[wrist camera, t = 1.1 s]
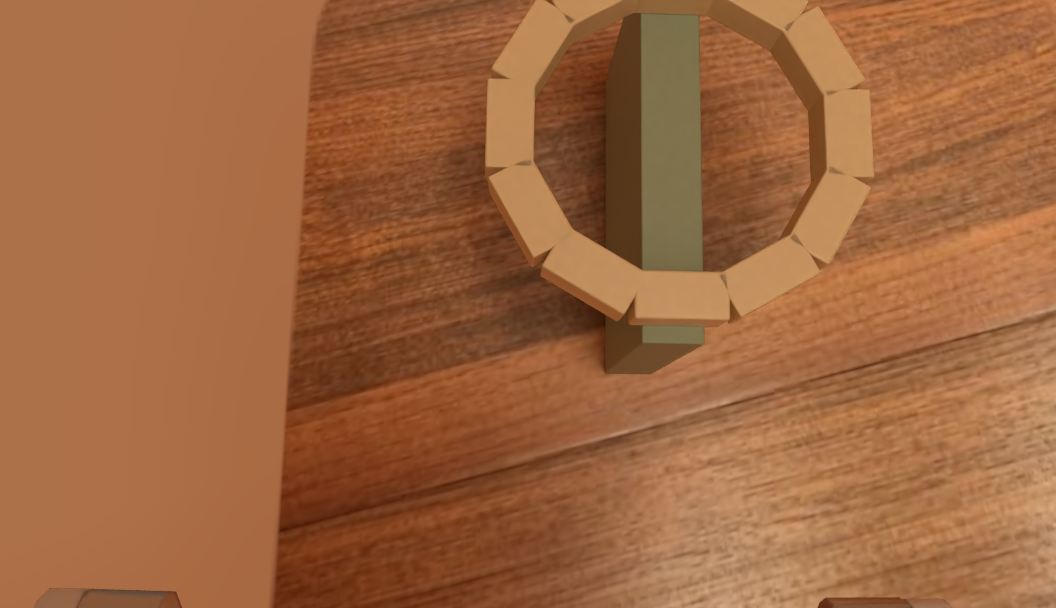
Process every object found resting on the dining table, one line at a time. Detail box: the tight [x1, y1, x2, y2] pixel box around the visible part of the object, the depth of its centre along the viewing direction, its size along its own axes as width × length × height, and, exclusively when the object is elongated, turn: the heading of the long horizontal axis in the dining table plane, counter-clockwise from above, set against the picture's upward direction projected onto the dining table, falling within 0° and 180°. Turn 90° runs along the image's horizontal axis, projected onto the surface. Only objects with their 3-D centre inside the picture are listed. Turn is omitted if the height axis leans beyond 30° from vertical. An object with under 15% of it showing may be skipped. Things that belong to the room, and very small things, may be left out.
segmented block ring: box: [485, 0, 874, 327], centre depth 29 cm, size 12×12×2 cm
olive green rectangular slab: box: [605, 13, 705, 374], centre depth 34 cm, size 2×13×10 cm, turn 179°
